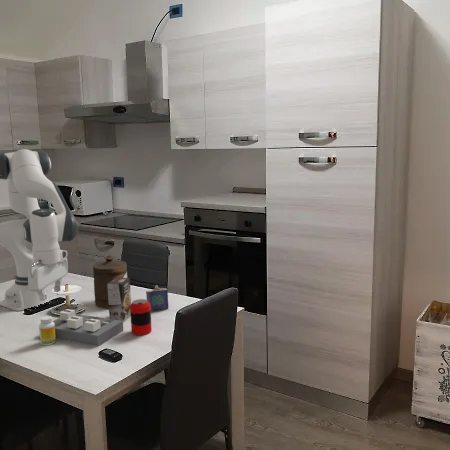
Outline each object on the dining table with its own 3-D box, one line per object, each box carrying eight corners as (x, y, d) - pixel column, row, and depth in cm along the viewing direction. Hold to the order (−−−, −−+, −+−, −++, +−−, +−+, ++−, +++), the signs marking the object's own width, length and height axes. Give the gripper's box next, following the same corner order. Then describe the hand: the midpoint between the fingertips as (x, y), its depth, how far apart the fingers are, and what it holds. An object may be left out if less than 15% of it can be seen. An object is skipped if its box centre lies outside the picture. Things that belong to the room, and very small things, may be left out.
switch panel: (31, 333, 187) (30, 323, 186) (59, 320, 201) (58, 310, 200) (98, 346, 174) (97, 335, 173) (123, 330, 188) (122, 320, 187)
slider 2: (67, 327, 181) (66, 318, 180) (74, 323, 184) (74, 315, 184) (76, 328, 179) (75, 320, 179) (83, 324, 183) (82, 316, 182)
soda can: (131, 336, 182) (129, 305, 180) (131, 328, 190) (129, 299, 187) (152, 334, 184) (150, 304, 182) (151, 326, 191) (149, 297, 189)
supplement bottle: (38, 342, 179) (35, 318, 177) (52, 338, 182) (49, 314, 181) (44, 347, 175) (42, 321, 173) (58, 342, 179) (56, 317, 177)
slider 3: (84, 330, 178) (84, 321, 177) (91, 326, 181) (91, 317, 181) (93, 331, 176) (92, 323, 175) (100, 327, 180) (100, 319, 179)
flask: (147, 311, 208) (146, 287, 206) (146, 309, 210) (145, 285, 209) (168, 309, 210) (167, 285, 208) (168, 307, 213) (166, 283, 211)
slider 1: (60, 319, 189) (59, 311, 188) (67, 316, 192) (66, 308, 192) (68, 321, 187) (67, 312, 186) (75, 317, 190) (74, 309, 190)
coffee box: (124, 322, 196) (121, 284, 193) (109, 321, 197) (106, 283, 195) (132, 314, 205) (130, 277, 202) (118, 313, 206) (116, 277, 203)
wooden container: (132, 305, 217) (130, 257, 213) (99, 311, 210) (95, 261, 206) (123, 295, 230) (121, 250, 226) (92, 301, 223) (88, 254, 219)
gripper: (38, 264, 156) (42, 306, 158) (69, 250, 176) (72, 287, 178) (20, 264, 157) (25, 305, 160) (53, 250, 177) (56, 286, 179)
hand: (50, 295), depth 169 cm, fingers open, 8 cm apart
